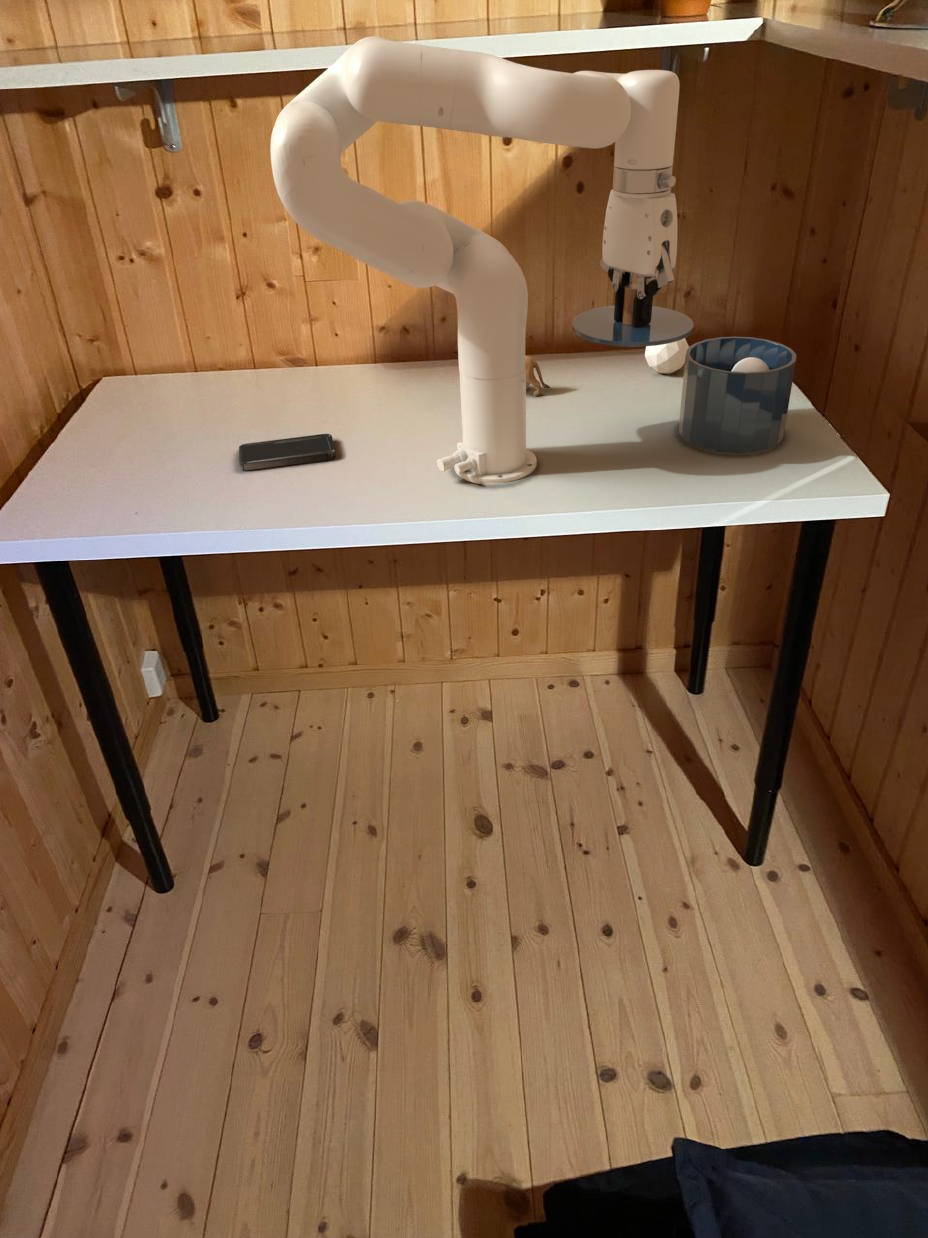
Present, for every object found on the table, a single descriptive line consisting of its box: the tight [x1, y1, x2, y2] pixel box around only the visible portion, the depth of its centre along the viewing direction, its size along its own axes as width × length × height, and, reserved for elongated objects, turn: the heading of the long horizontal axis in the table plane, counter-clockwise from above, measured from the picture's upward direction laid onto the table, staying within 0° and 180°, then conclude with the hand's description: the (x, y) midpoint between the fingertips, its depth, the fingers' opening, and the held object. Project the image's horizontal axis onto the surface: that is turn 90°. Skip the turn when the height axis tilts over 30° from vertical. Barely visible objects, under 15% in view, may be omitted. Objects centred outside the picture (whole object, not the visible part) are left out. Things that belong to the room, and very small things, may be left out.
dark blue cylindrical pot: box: [678, 336, 797, 454], centre depth 142 cm, size 16×16×13 cm
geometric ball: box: [644, 337, 690, 375], centre depth 167 cm, size 8×8×8 cm
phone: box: [238, 433, 336, 471], centre depth 147 cm, size 8×1×15 cm
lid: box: [571, 283, 694, 348], centre depth 129 cm, size 17×17×6 cm
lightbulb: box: [732, 357, 769, 372], centre depth 144 cm, size 6×6×11 cm
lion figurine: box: [525, 354, 551, 397], centre depth 162 cm, size 15×5×9 cm, turn 92°
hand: (632, 320), depth 130 cm, fingers closed on lid, 2 cm apart
